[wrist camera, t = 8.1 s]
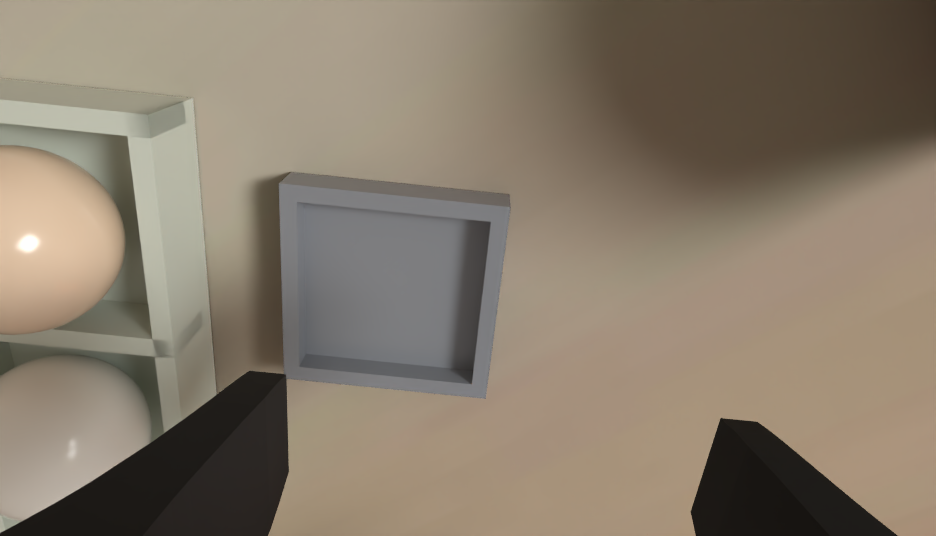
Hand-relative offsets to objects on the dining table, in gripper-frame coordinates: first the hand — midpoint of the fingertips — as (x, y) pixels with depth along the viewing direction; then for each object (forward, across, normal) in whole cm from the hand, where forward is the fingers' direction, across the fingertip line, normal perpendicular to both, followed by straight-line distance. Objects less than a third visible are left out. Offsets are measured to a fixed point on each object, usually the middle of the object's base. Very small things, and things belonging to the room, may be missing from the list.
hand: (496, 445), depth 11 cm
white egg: (+9, +13, +7) cm, 17 cm away
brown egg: (+9, +13, 0) cm, 16 cm away
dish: (+10, +3, +2) cm, 11 cm away
